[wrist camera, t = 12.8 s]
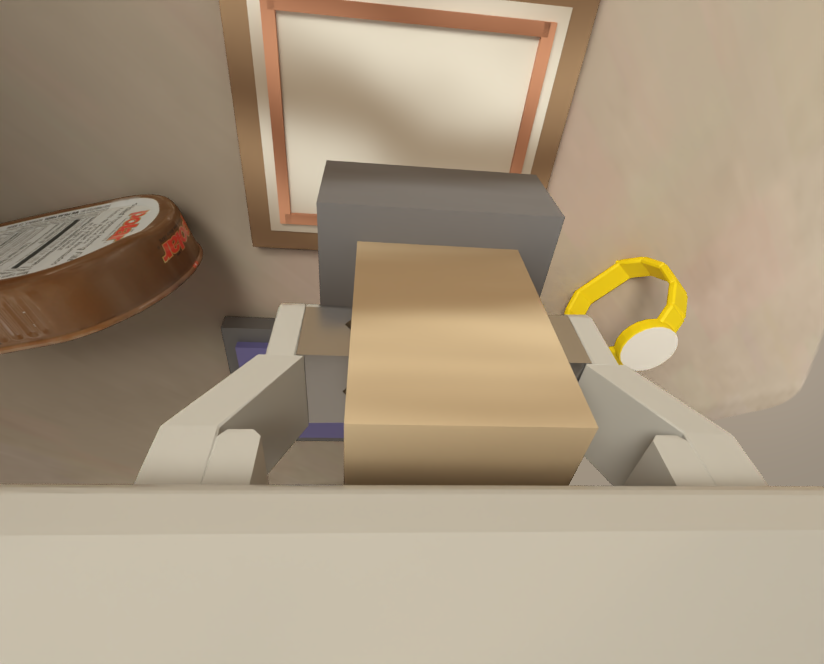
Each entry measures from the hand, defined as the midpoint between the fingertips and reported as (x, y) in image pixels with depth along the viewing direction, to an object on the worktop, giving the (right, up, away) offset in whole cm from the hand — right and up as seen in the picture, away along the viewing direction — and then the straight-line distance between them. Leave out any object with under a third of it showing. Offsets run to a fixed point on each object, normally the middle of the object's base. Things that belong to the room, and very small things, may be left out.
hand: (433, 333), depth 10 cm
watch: (+10, +3, +17) cm, 20 cm away
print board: (-1, +9, +11) cm, 14 cm away
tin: (-17, +5, +13) cm, 22 cm away
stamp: (0, +2, +3) cm, 3 cm away
